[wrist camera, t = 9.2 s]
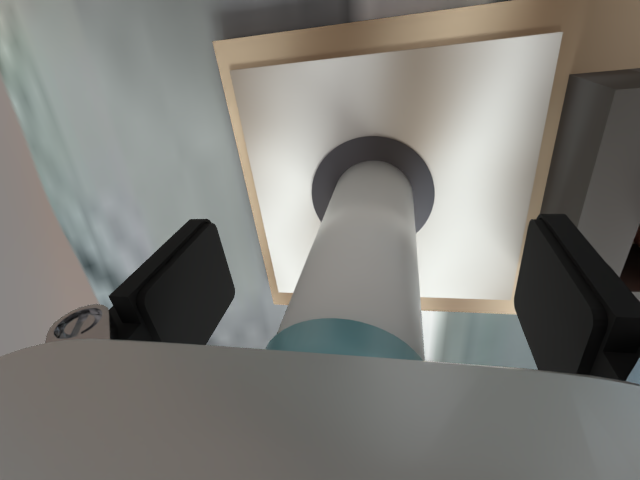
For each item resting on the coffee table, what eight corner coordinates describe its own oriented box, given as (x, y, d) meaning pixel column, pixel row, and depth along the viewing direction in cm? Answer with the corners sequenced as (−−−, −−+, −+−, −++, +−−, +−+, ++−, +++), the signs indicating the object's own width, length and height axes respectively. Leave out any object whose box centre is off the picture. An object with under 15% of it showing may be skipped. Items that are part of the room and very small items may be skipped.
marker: (416, 155, 14) (449, 439, 4) (415, 234, 15) (437, 559, 6) (328, 160, 14) (194, 410, 5) (335, 234, 16) (246, 525, 7)
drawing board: (916, -55, 9) (1197, -95, 6) (712, 307, 16) (796, 384, 12) (224, 40, 14) (167, 46, 11) (279, 292, 20) (254, 346, 17)
